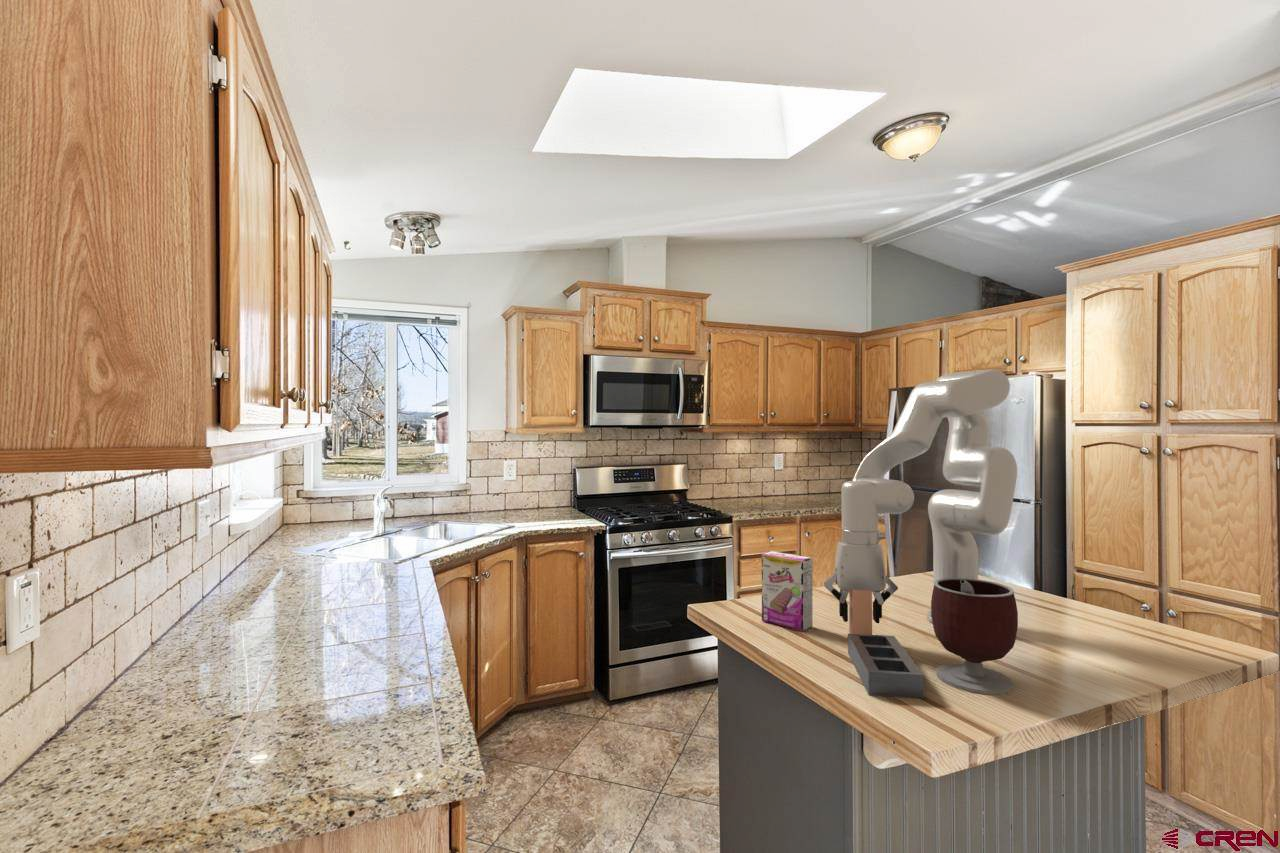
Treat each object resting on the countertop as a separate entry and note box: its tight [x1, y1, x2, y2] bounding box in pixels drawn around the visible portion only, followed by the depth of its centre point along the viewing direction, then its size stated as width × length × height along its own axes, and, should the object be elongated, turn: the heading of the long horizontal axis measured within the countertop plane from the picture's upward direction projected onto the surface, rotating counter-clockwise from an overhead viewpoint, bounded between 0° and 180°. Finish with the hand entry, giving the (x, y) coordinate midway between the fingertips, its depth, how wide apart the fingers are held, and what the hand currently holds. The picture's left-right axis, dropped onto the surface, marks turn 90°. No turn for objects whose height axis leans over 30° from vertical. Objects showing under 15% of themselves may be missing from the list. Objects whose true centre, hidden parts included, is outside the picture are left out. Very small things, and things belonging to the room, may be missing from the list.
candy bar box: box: [761, 550, 813, 632], centre depth 142 cm, size 11×5×16 cm, turn 47°
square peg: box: [848, 590, 873, 635], centre depth 130 cm, size 4×4×13 cm
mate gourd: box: [930, 578, 1019, 696], centre depth 109 cm, size 16×14×20 cm
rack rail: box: [847, 633, 925, 700], centre depth 112 cm, size 9×20×4 cm, turn 171°
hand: (860, 619), depth 130 cm, fingers open, 5 cm apart
